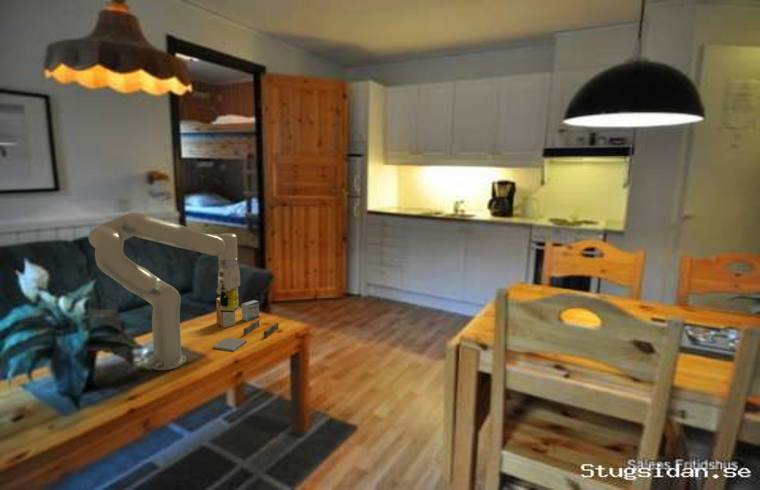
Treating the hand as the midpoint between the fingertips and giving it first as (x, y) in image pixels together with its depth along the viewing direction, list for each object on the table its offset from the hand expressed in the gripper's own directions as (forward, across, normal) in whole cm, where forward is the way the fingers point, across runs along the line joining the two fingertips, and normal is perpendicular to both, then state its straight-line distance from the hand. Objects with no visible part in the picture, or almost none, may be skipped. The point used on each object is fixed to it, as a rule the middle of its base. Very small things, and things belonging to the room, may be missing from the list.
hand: (229, 302), depth 177 cm
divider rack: (+19, +18, -5) cm, 27 cm away
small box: (+20, +21, +16) cm, 33 cm away
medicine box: (+20, +32, +9) cm, 39 cm away
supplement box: (+3, 0, 0) cm, 3 cm away
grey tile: (+19, 0, 0) cm, 19 cm away
